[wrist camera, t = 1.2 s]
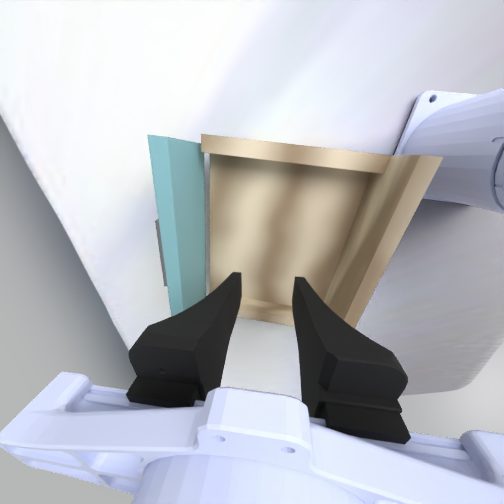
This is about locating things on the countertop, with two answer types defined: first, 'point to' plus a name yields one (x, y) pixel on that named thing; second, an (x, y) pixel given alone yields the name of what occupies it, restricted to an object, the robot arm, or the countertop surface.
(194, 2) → the countertop surface
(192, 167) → the panel
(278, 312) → the tray
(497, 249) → the countertop surface
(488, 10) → the countertop surface
